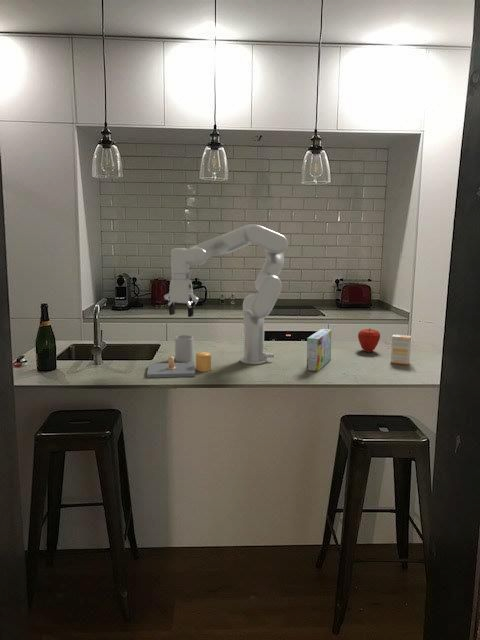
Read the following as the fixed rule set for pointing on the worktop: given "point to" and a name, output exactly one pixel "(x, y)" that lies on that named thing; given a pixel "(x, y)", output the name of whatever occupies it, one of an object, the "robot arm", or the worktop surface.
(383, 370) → the worktop surface
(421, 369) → the worktop surface
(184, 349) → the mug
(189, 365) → the base
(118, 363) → the worktop surface
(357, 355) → the worktop surface
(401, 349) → the supplement box
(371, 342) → the apple
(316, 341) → the snack box
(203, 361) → the orange cylinder
